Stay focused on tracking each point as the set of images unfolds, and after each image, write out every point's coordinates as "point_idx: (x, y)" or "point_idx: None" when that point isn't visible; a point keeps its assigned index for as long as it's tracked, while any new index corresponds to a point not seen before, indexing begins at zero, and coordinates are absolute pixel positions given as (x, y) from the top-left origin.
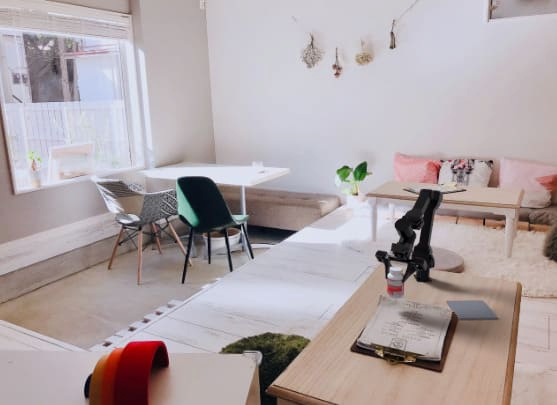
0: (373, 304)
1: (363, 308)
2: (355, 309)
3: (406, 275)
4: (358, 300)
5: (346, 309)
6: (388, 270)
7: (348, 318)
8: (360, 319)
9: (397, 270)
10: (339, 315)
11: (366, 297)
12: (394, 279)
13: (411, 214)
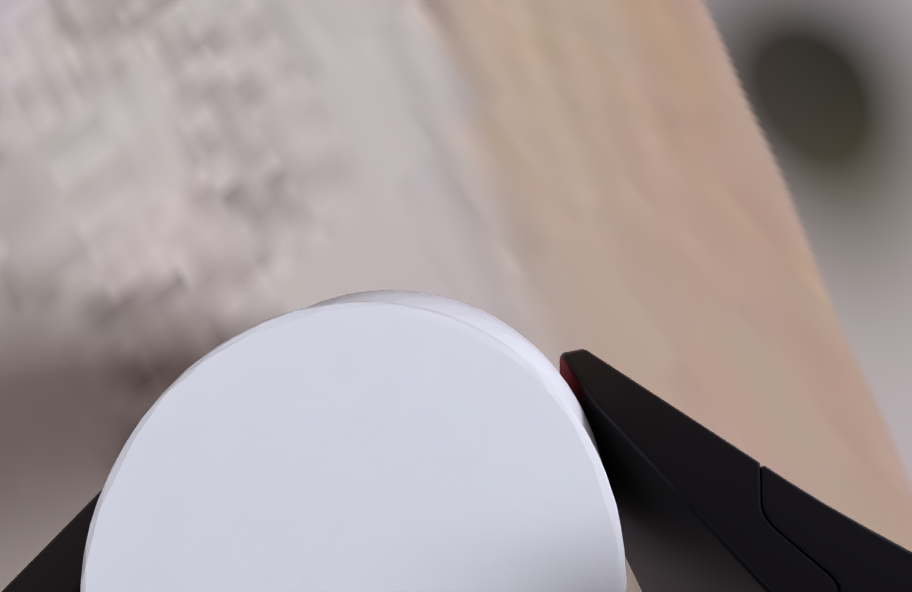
0: None
1: (644, 248)
2: (681, 185)
3: (20, 581)
4: (789, 355)
5: (735, 135)
6: (672, 547)
7: (613, 25)
8: (532, 72)
9: (206, 407)
10: (699, 18)
11: (783, 470)
12: (314, 305)
13: None
